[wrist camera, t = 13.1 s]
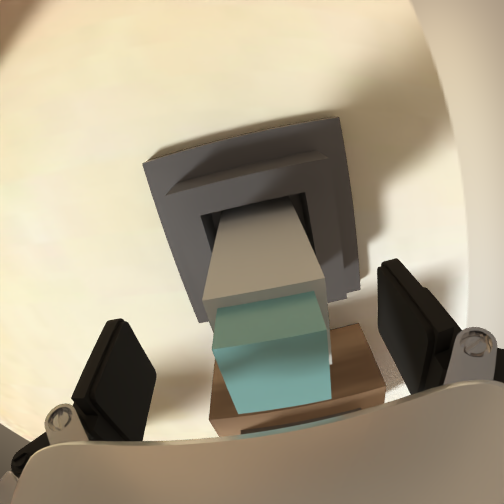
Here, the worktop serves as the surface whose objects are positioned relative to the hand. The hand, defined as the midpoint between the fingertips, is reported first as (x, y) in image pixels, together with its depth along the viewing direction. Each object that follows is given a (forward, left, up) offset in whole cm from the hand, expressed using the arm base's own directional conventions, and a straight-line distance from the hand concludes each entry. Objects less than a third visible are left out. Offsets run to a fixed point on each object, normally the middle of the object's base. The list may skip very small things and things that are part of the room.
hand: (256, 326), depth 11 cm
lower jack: (0, +1, -11) cm, 11 cm away
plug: (0, +1, -10) cm, 10 cm away
